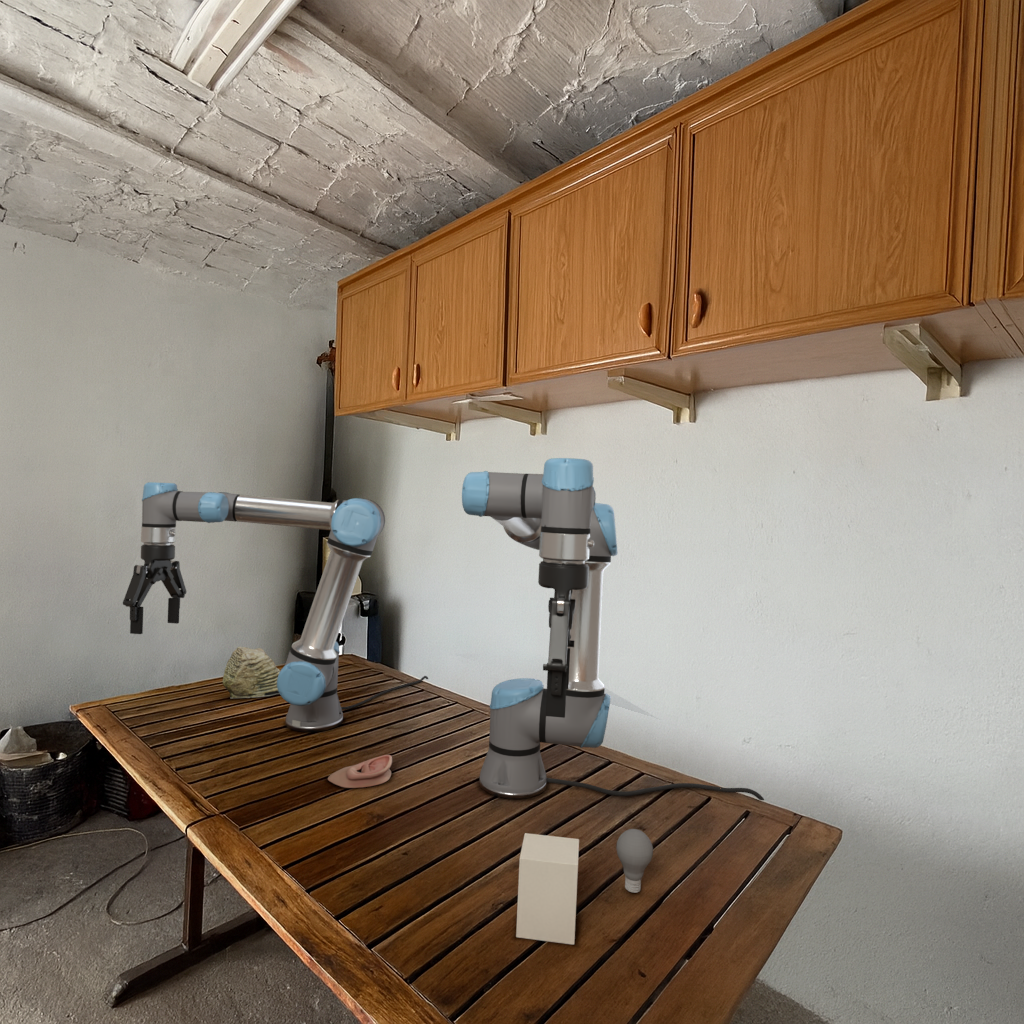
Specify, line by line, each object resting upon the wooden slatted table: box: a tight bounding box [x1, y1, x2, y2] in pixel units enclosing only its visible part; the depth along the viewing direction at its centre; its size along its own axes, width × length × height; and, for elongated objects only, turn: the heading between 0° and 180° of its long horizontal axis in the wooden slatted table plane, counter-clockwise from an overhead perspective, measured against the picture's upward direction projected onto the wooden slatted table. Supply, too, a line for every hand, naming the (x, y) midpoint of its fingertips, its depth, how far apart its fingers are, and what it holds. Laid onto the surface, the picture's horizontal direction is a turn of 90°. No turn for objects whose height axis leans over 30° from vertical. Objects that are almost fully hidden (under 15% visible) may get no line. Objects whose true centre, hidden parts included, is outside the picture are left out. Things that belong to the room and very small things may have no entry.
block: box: [515, 832, 580, 945], centre depth 96 cm, size 9×7×12 cm
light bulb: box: [615, 828, 654, 894], centre depth 106 cm, size 6×6×10 cm
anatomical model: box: [327, 754, 393, 789], centre depth 143 cm, size 13×4×12 cm
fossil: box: [222, 646, 281, 699], centre depth 198 cm, size 9×18×15 cm, turn 132°
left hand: (155, 628), depth 159 cm, fingers open, 13 cm apart
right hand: (557, 701), depth 96 cm, fingers open, 13 cm apart
